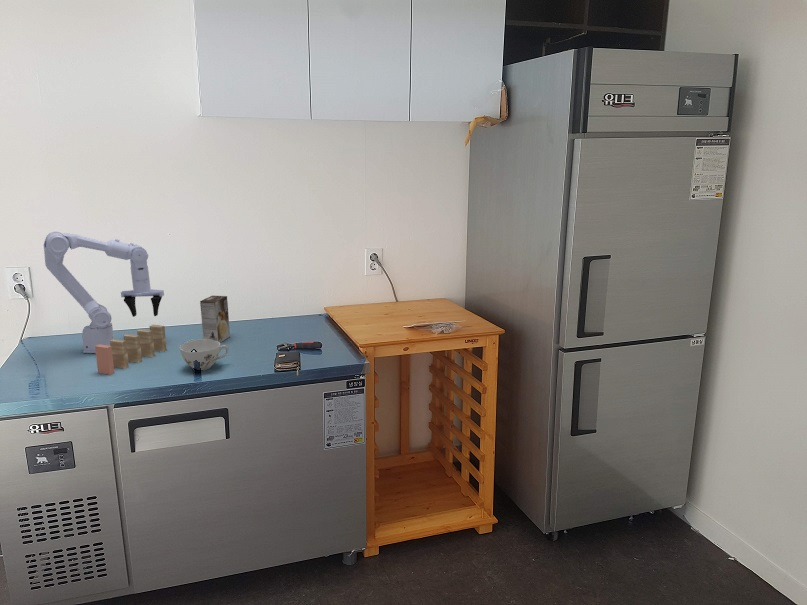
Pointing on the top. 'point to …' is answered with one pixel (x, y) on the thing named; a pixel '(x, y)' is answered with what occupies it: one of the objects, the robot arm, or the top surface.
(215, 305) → the coffee box
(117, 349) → the domino
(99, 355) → the end domino
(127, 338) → the domino
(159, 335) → the domino
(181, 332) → the top surface
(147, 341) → the domino
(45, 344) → the top surface
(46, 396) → the top surface
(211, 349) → the teacup
